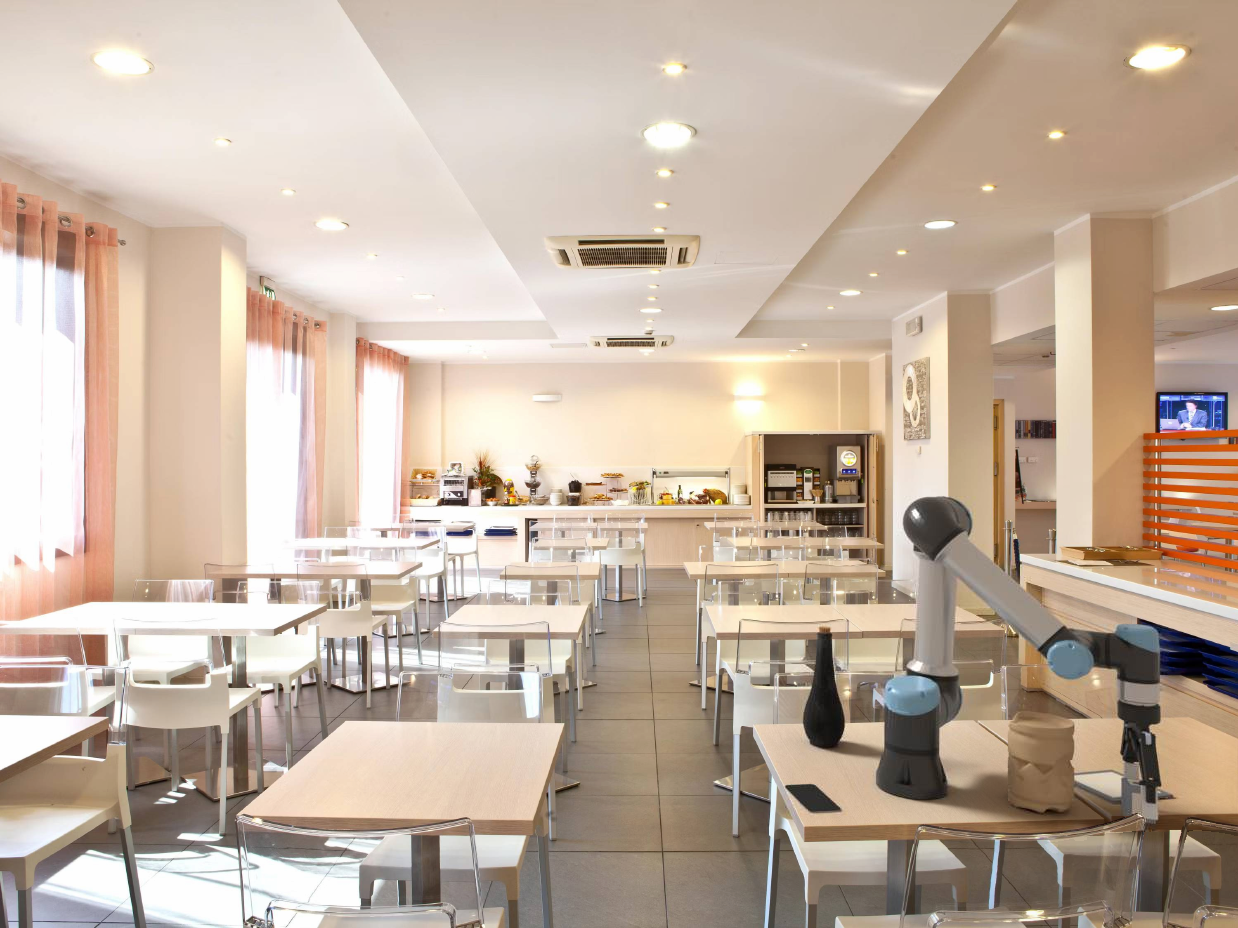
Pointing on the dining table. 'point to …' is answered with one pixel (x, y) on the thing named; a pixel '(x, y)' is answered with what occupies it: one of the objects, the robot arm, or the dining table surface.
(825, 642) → the bottle
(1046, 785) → the container
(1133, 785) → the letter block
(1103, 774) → the grey bordered square plate
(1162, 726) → the dining table surface
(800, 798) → the smartphone
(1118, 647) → the robot arm
